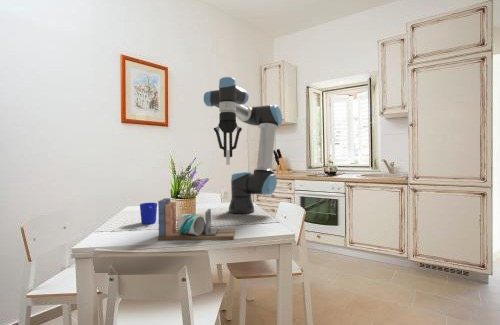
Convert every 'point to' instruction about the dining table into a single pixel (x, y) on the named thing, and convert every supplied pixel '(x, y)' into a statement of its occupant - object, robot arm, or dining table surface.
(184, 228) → the mug
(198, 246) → the dining table surface
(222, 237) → the shelf
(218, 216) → the dining table surface
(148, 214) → the mug
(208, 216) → the bookend
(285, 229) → the dining table surface
